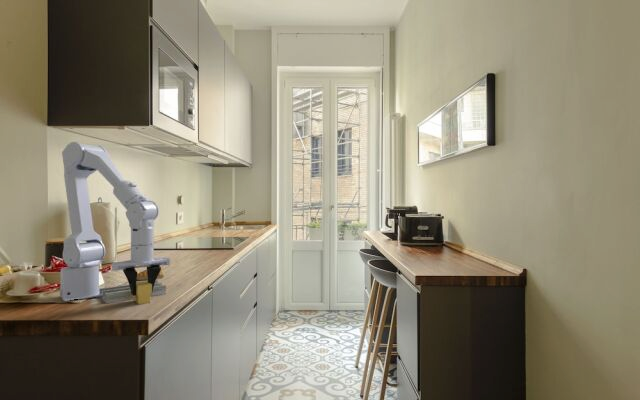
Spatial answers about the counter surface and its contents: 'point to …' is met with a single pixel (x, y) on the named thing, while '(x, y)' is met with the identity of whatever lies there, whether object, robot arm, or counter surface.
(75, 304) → the counter surface
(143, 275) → the pastry
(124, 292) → the rail
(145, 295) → the yellow block with ridge
